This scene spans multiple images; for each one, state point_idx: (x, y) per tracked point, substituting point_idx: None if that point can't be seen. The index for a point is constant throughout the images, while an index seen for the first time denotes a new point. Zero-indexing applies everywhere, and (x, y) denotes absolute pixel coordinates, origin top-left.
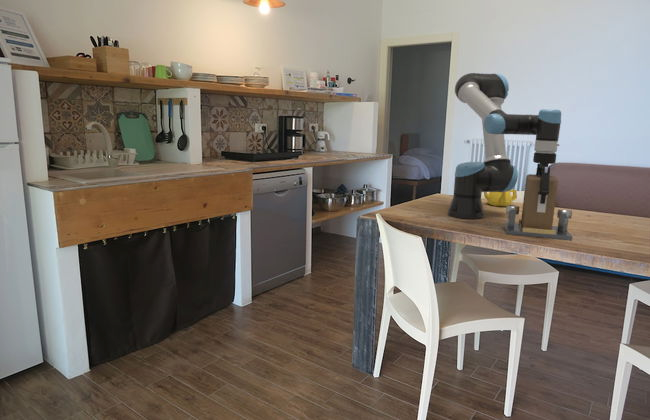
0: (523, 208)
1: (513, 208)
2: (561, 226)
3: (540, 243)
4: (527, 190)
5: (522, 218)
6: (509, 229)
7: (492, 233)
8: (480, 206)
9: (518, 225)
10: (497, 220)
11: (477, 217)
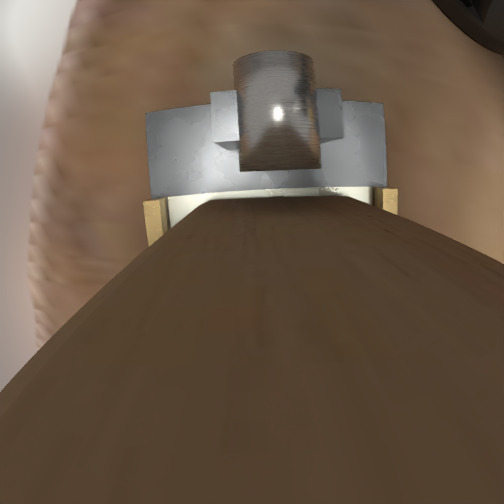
0: (308, 213)
1: (243, 116)
2: None
3: (66, 272)
4: (74, 320)
5: (284, 201)
6: (173, 126)
7: (142, 55)
8: (499, 8)
9: (319, 179)
10: (467, 98)
11: (444, 6)
